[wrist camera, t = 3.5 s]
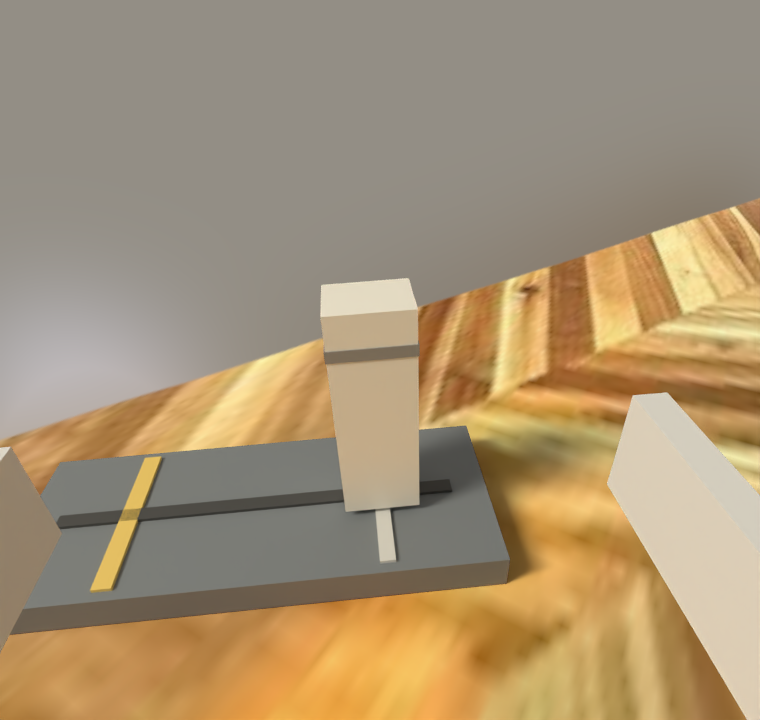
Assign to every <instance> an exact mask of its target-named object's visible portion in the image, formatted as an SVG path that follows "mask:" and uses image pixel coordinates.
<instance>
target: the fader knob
mask: <svg viewBox="0 0 760 720" xmlns="http://www.w3.org/2000/svg"><path fill="white" fill-rule="evenodd" d="M320 317H321V326H322V333H323V341H324V359H325V364H327V372H328V380H329V387H330V395H331V403H332V410H333V418H334V426H335V434H336V441H337V449H338V457H339V464H340V472H341V480H342V487H343V495H344V503H345V511H346V512H350V511H360V510H370V509H381V508H391V507H402V506H412V505H419V392H418V356H419V341H418V308H417V305H416V301H415V298H414V295H413V292H412V288H411V285H410V281H409V278H405V279H391V280H379V281H367V282H354V283H341V284H328V285H321V314H320Z"/></svg>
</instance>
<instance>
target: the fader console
mask: <svg viewBox="0 0 760 720" xmlns="http://www.w3.org/2000/svg"><path fill="white" fill-rule="evenodd" d="M40 497H41V499H42V500H43V502H44V504H45V505H46V507H47V509H48V510H49V512H50V514H51V516H52V517H53V519H54V521H55V522H56V524H57V526H58V527H59V529H60V531H61V533H62V534H61V536H60V538H59V540H58V542H57V544H56V546H55V548H54V550H53V552H52V554H51V556H50V558H49V560H48V561H47V563H46V565H45V567H44V569H43V571H42V573H41V575H40V577H39V579H38V581H37V583H36V585H35V587H34V588H33V590H32V592H31V594H30V596H29V598H28V600H27V602H26V604H25V606H24V608H23V610H22V612H21V614H20V615H19V617H18V619H17V621H16V623H15V625H14V627H13V629H12V631H11V633H10V634H20V633H29V632H39V631H49V630H58V629H68V628H78V627H88V626H97V625H107V624H117V623H127V622H136V621H146V620H156V619H165V618H175V617H185V616H195V615H204V614H214V613H224V612H233V611H243V610H253V609H263V608H272V607H282V606H292V605H302V604H311V603H321V602H331V601H340V600H350V599H360V598H370V597H379V596H389V595H399V594H408V593H418V592H428V591H438V590H447V589H457V588H467V587H477V586H486V585H496V584H506V583H507V577H508V571H509V564H510V558H509V555H508V552H507V549H506V546H505V543H504V539H503V536H502V533H501V530H500V527H499V524H498V521H497V518H496V515H495V512H494V509H493V506H492V503H491V500H490V497H489V494H488V491H487V488H486V485H485V482H484V479H483V476H482V472H481V469H480V466H479V463H478V460H477V457H476V454H475V451H474V448H473V445H472V442H471V439H470V436H469V433H468V430H467V427H466V426H457V427H446V428H435V429H424V430H419V505H412V506H402V507H391V508H381V509H370V510H360V511H350V512H346V511H345V503H344V495H343V487H342V480H341V472H340V464H339V457H338V449H337V441H336V437H335V438H324V439H313V440H302V441H291V442H280V443H269V444H258V445H247V446H236V447H225V448H214V449H203V450H192V451H181V452H170V453H159V454H148V455H137V456H126V457H115V458H104V459H93V460H82V461H71V462H60V464H59V466H58V467H57V469H56V471H55V472H54V474H53V476H52V477H51V479H50V481H49V482H48V484H47V486H46V487H45V489H44V491H43V492H42V494H41V496H40Z"/></svg>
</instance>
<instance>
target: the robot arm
mask: <svg viewBox="0 0 760 720" xmlns="http://www.w3.org/2000/svg"><path fill="white" fill-rule="evenodd" d="M607 485H608V487H609V488H610V490H611V492H612V493H613V495H614V497H615V498H616V500H617V502H618V503H619V505H620V507H621V509H622V510H623V512H624V514H625V515H626V517H627V519H628V520H629V522H630V524H631V525H632V527H633V529H634V530H635V532H636V534H637V535H638V537H639V539H640V540H641V542H642V544H643V546H644V547H645V549H646V551H647V552H648V554H649V556H650V557H651V559H652V561H653V562H654V564H655V566H656V567H657V569H658V571H659V572H660V574H661V576H662V577H663V579H664V581H665V583H666V584H667V586H668V588H669V589H670V591H671V593H672V594H673V596H674V598H675V599H676V601H677V603H678V604H679V606H680V608H681V609H682V611H683V613H684V614H685V616H686V618H687V619H688V621H689V623H690V625H691V626H692V628H693V630H694V631H695V633H696V635H697V636H698V638H699V640H700V641H701V643H702V645H703V646H704V648H705V650H706V651H707V653H708V655H709V656H710V658H711V660H712V662H713V663H714V665H715V667H716V668H717V670H718V672H719V673H720V675H721V677H722V678H723V680H724V682H725V683H726V685H727V687H728V688H729V690H730V692H731V693H732V695H733V697H734V699H735V700H736V702H737V704H738V705H739V707H740V709H741V710H742V712H743V714H744V715H745V717H746V719H747V720H760V495H759V494H758V493H757V492H756V491H755V490H754V488H753V487H752V486H751V485H750V484H749V483H748V482H747V481H746V480H745V478H744V477H743V476H742V475H741V474H740V473H739V472H738V471H737V470H736V468H735V467H734V466H733V465H732V464H731V463H730V462H729V461H728V460H727V458H726V457H725V456H724V455H723V454H722V453H721V452H720V451H719V450H718V448H717V447H716V446H715V445H714V444H713V443H712V442H711V441H710V440H709V438H708V437H707V436H706V435H705V434H704V433H703V432H702V431H701V430H700V429H699V427H698V426H697V425H696V424H695V423H694V422H693V421H692V420H691V419H690V417H689V416H688V415H687V414H686V413H685V412H684V411H683V410H682V409H681V407H680V406H679V405H678V404H677V403H676V402H675V401H674V400H673V399H672V397H671V396H670V395H669V394H668V393H656V394H644V395H633V397H632V400H631V404H630V407H629V411H628V414H627V417H626V421H625V424H624V428H623V431H622V434H621V438H620V441H619V445H618V448H617V451H616V455H615V458H614V462H613V465H612V469H611V472H610V475H609V479H608V482H607ZM61 534H62V533H61V531H60V529H59V527H58V526H57V524H56V522H55V521H54V519H53V517H52V516H51V514H50V512H49V510H48V509H47V507H46V505H45V504H44V502H43V500H42V499H41V497H40V495H39V494H38V492H37V490H36V488H35V487H34V485H33V483H32V482H31V480H30V478H29V477H28V475H27V473H26V471H25V470H24V468H23V466H22V465H21V463H20V461H19V460H18V458H17V456H16V454H15V453H14V451H13V449H12V448H11V447H3V448H0V652H1V650H2V648H3V646H4V644H5V642H6V641H7V639H8V637H9V635H10V633H11V631H12V629H13V627H14V625H15V623H16V621H17V619H18V617H19V615H20V614H21V612H22V610H23V608H24V606H25V604H26V602H27V600H28V598H29V596H30V594H31V592H32V590H33V588H34V587H35V585H36V583H37V581H38V579H39V577H40V575H41V573H42V571H43V569H44V567H45V565H46V563H47V561H48V560H49V558H50V556H51V554H52V552H53V550H54V548H55V546H56V544H57V542H58V540H59V538H60V536H61Z"/></svg>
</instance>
